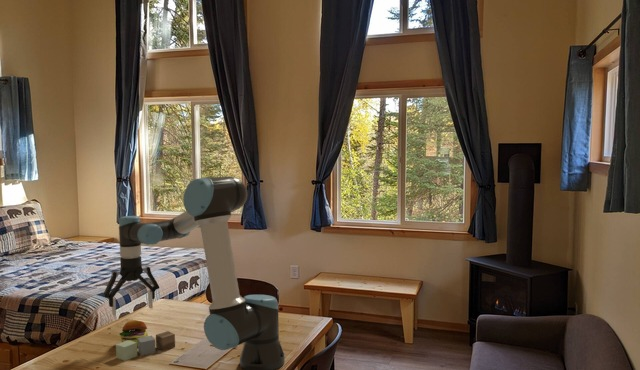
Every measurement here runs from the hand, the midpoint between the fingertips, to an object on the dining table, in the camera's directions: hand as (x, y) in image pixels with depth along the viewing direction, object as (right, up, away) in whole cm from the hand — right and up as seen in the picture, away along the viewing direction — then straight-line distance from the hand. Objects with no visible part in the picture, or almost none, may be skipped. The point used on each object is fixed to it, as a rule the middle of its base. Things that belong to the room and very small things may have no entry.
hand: (132, 311), depth 185 cm
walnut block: (+14, -13, -4) cm, 19 cm away
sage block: (+3, -13, -13) cm, 19 cm away
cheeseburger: (+1, -13, 0) cm, 13 cm away
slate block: (+8, -13, -9) cm, 18 cm away
